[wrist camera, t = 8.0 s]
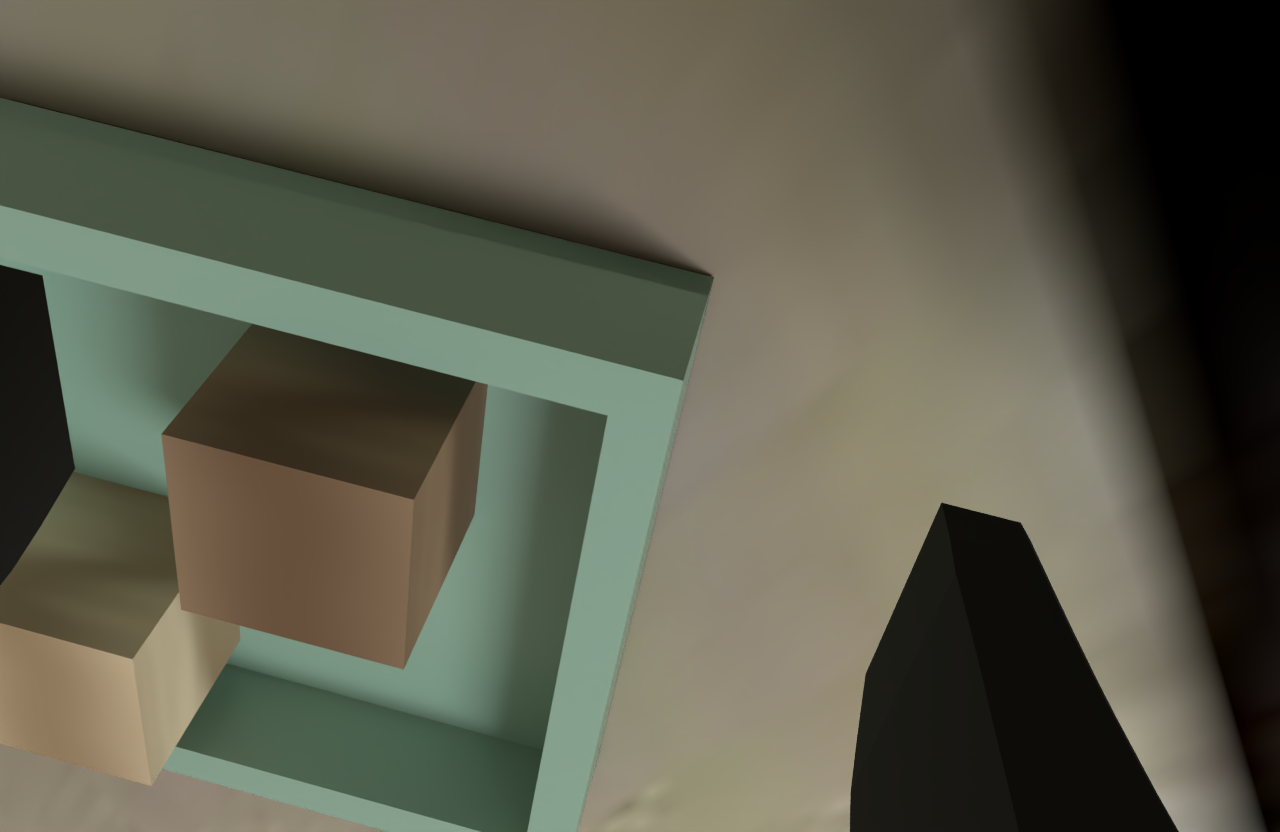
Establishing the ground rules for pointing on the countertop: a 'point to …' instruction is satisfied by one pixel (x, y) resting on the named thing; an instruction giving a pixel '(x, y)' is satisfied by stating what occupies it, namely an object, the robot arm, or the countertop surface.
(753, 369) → the countertop surface
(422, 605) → the walnut block
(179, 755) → the tray
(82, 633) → the beech block in tray
